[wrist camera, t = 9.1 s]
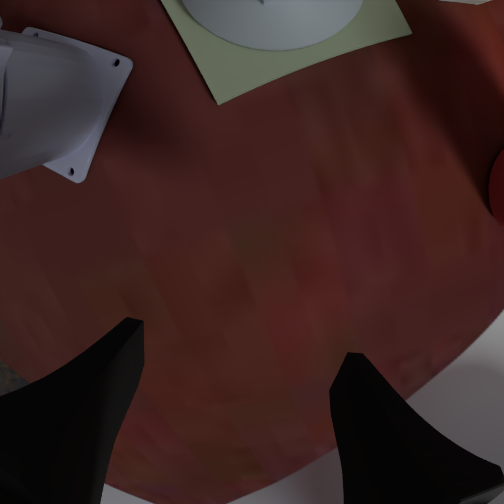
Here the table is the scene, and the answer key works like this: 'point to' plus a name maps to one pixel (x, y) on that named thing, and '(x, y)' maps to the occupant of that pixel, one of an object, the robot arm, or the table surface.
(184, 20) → the mat
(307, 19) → the lid
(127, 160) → the table surface
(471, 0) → the bowl
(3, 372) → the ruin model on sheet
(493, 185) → the beer can
